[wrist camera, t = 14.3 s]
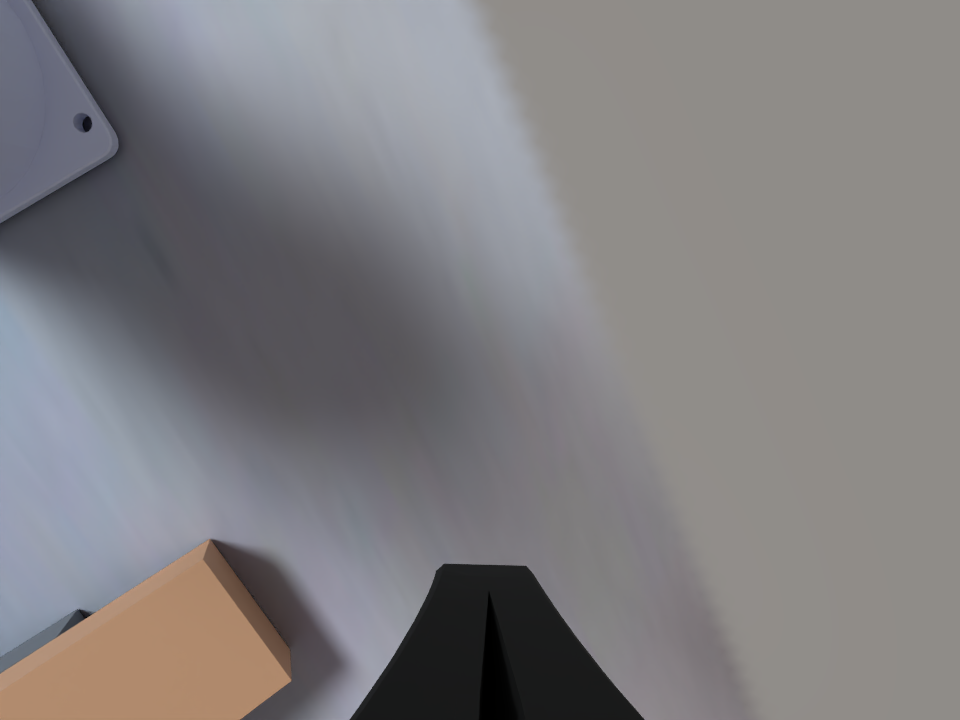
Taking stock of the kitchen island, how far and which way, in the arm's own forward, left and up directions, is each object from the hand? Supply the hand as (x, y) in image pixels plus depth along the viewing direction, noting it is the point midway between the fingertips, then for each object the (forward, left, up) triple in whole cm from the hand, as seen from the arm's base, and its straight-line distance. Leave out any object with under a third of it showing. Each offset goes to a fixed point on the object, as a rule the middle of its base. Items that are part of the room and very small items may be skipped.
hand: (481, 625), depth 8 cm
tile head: (+2, -10, -10) cm, 14 cm away
